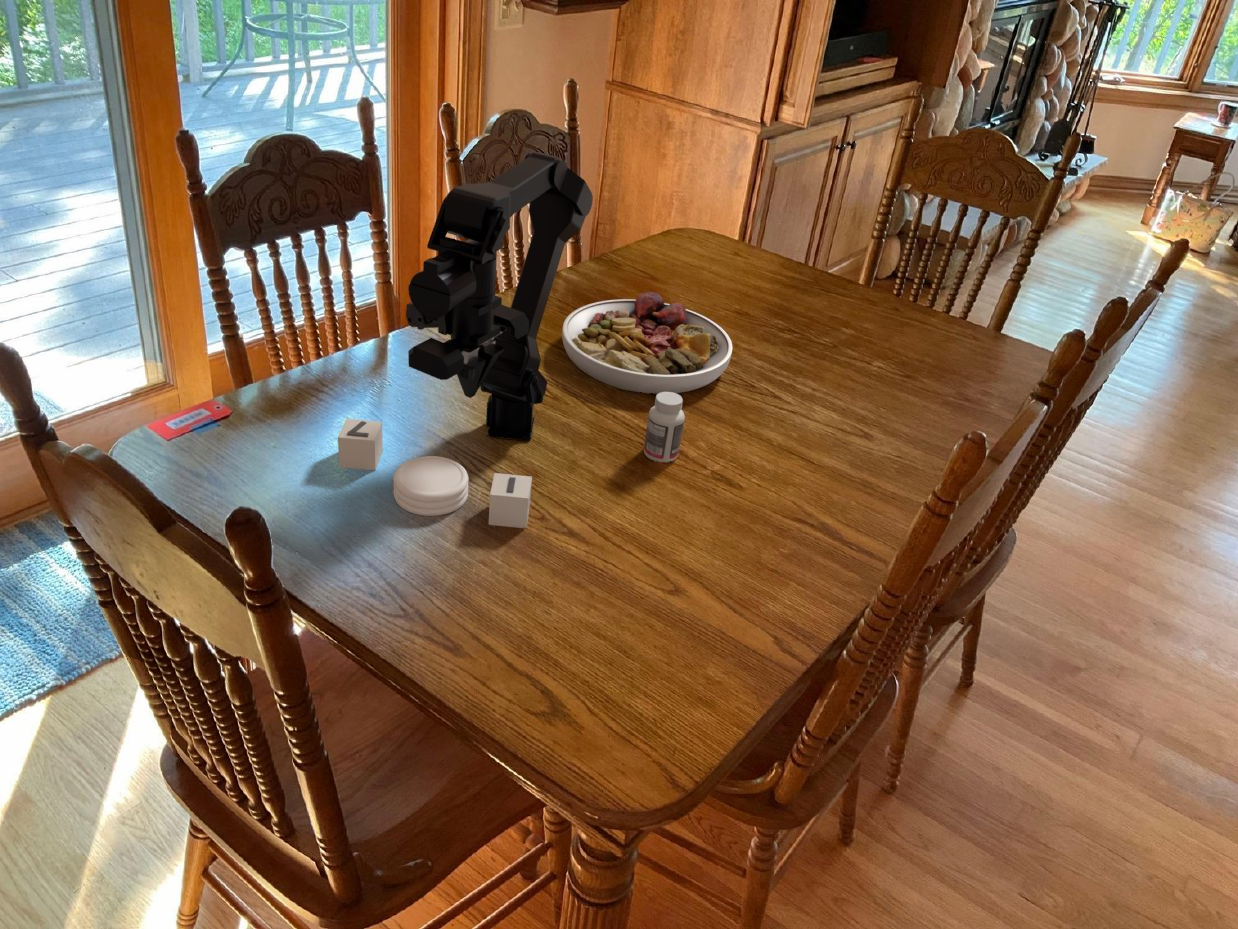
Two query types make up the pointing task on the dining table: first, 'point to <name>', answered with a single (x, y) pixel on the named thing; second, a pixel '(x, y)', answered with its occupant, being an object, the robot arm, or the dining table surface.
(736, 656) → the dining table surface
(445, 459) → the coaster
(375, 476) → the dining table surface
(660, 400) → the pill bottle
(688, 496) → the dining table surface
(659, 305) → the bowl
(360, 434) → the block seven
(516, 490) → the block one
